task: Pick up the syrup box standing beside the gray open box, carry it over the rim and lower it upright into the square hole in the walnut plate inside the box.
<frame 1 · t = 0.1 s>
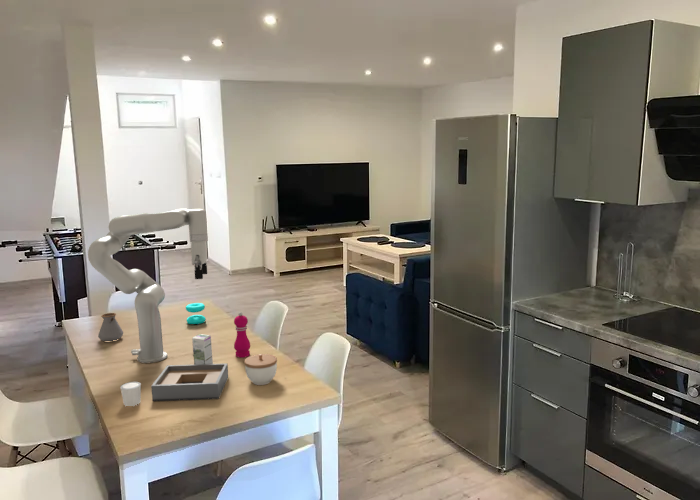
hand: (201, 276, 238), 37 cm above the table, tool pointing down, fingers open, 9 cm apart
donuts: (196, 322, 296), on the table
pepper mill: (242, 355, 245), on the table
coffee pot: (112, 342, 266), on the table
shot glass: (132, 403, 198), on the table
lidded bowl: (261, 381, 216), on the table
syrup box: (203, 369, 230), on the table
gray open box: (192, 388, 210), on the table
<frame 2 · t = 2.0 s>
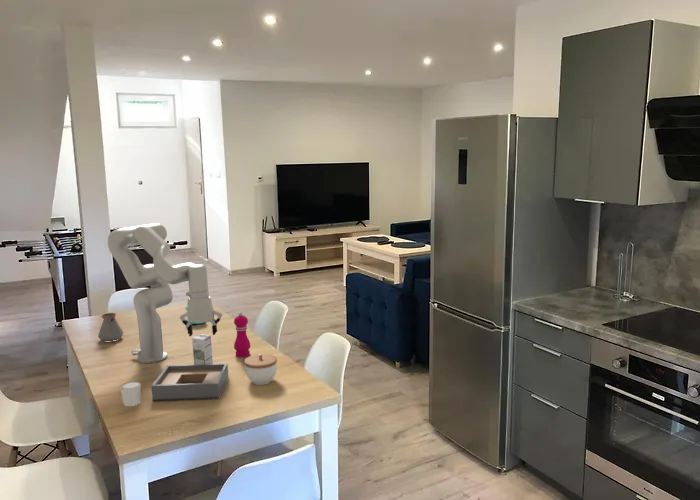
hand: (202, 334, 227), 15 cm above the table, tool pointing down, fingers open, 9 cm apart
nothing on the table moved.
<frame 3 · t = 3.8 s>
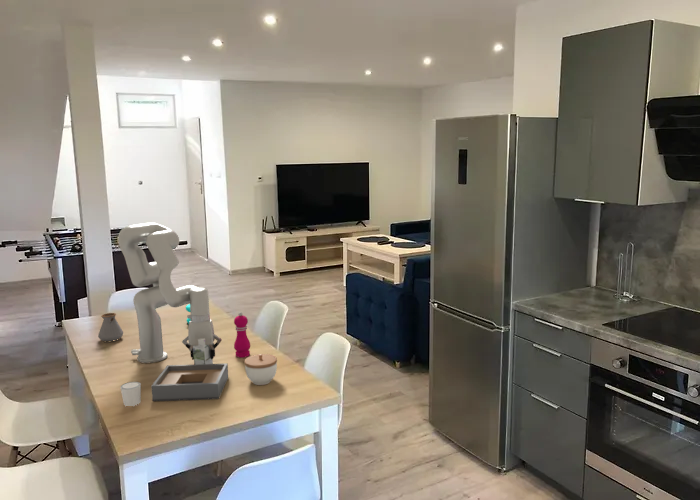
hand: (203, 358, 229), 5 cm above the table, tool pointing down, fingers closed on syrup box, 7 cm apart
syrup box: (203, 369, 230), on the table, touching gripper
everything else where it was.
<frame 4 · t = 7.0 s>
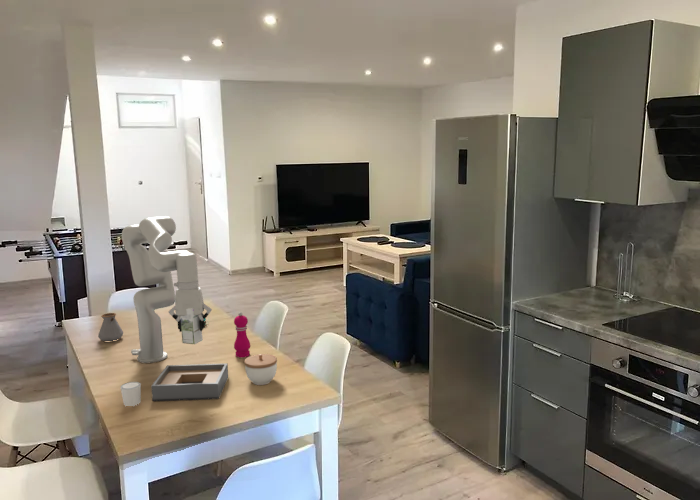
hand: (191, 329, 211), 22 cm above the table, tool pointing down, fingers closed on syrup box, 7 cm apart
syrup box: (192, 342, 211), point 17 cm above the table, touching gripper
everything else where it was.
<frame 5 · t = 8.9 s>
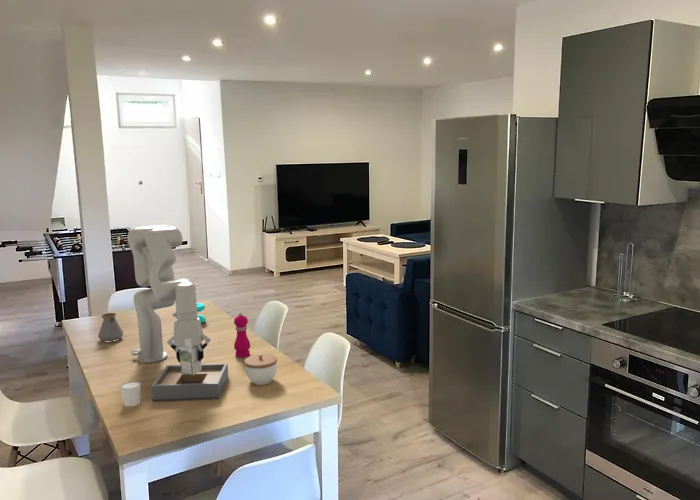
hand: (190, 360, 208), 12 cm above the table, tool pointing down, fingers closed on syrup box, 7 cm apart
syrup box: (191, 372, 209), point 7 cm above the table, touching gripper
everything else where it was.
when the fingers open (6 cm above the table, at t = 10.6 s): syrup box stays where it is, resting on gray open box.
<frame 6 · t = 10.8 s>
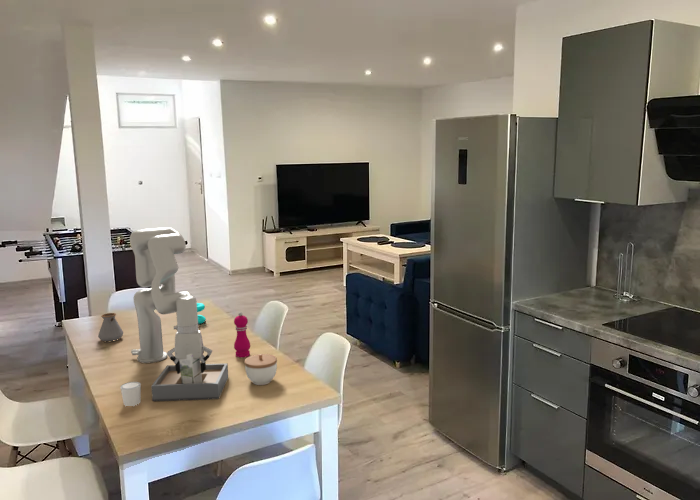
hand: (191, 371, 209), 7 cm above the table, tool pointing down, fingers open, 8 cm apart
syrup box: (192, 387, 210), point 1 cm above the table, touching gray open box
everything else where it was.
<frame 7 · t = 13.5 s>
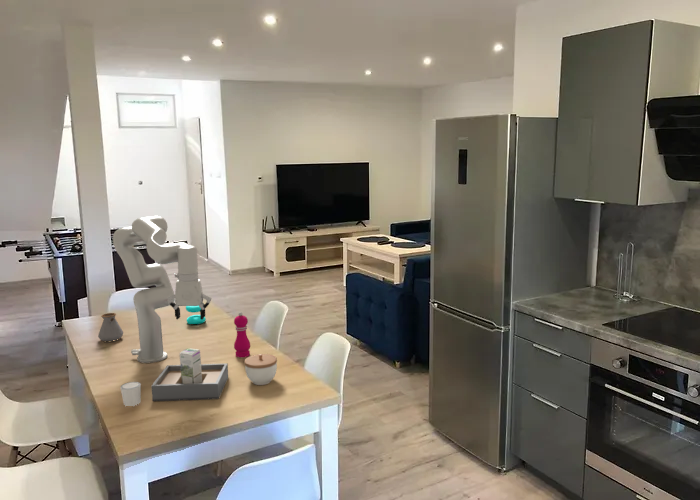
hand: (190, 318, 219), 24 cm above the table, tool pointing down, fingers open, 9 cm apart
nothing on the table moved.
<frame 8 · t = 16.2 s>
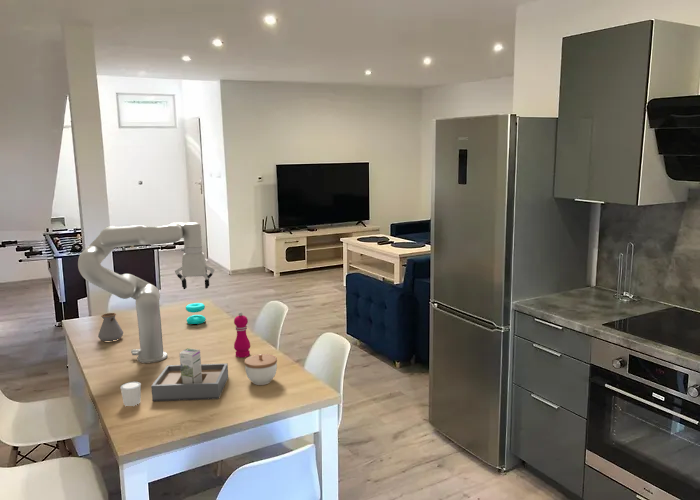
hand: (195, 288, 244), 30 cm above the table, tool pointing down, fingers open, 9 cm apart
nothing on the table moved.
at the end: syrup box 0.2 cm off-centre on the gray open box, point 0.6 cm above the gray open box's base; syrup box tilted 0°; the gripper is holding nothing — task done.
